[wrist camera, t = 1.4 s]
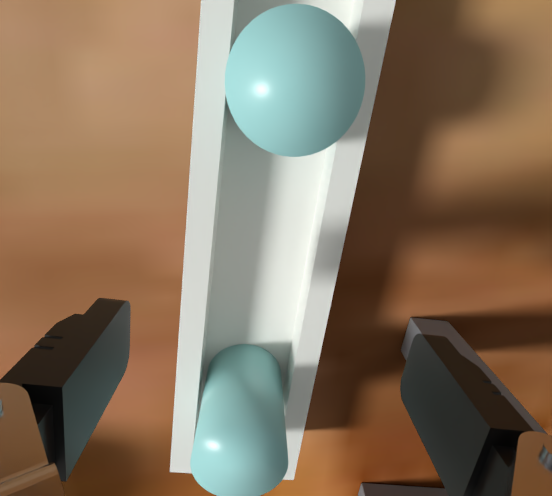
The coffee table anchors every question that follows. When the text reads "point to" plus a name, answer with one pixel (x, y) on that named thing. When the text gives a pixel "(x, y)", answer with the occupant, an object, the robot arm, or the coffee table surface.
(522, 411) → the grey stand
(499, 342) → the coffee table surface
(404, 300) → the coffee table surface
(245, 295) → the tray
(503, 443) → the robot arm
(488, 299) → the coffee table surface
